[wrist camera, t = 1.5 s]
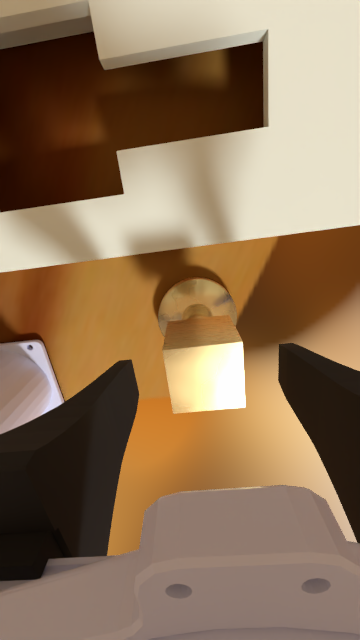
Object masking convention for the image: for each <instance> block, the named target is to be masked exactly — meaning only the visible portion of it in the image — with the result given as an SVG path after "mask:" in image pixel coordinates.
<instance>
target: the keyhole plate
mask: <svg viewBox="0 0 360 640" xmlns="http://www.w3.org/2000/svg"><path fill="white" fill-rule="evenodd" d="M93 31H94V35H95V40H96V45H97V51H98V56H99V60H100V62H101V64H102V66H103V68H104V70H108V69H114V68H119V67H125V66H130V65H136V64H141V63H147V62H152V61H158V60H164V59H169V58H175V57H180V56H186V55H191V54H197V53H202V52H208V51H213V50H219V49H224V48H230V47H235V46H241V45H246V44H252V43H257V42H263V111H264V127H263V128H257V129H251V130H244V131H238V132H232V133H226V134H219V135H213V136H207V137H201V138H194V139H188V140H182V141H176V142H169V143H163V144H157V145H150V146H144V147H138V148H132V149H125V150H119V151H116V152H117V158H118V163H119V168H120V174H121V179H122V185H123V190H124V194H122V195H115V196H108V197H102V198H95V199H88V200H81V201H75V202H68V203H61V204H54V205H48V206H41V207H34V208H27V209H21V210H14V211H7V212H1V211H0V272H7V271H15V270H22V269H30V268H37V267H45V266H53V265H60V264H68V263H75V262H83V261H90V260H98V259H106V258H113V257H121V256H128V255H136V254H143V253H151V252H159V251H166V250H174V249H181V248H189V247H196V246H204V245H211V244H219V243H227V242H234V241H242V240H249V239H257V238H264V237H272V236H280V235H287V234H295V233H301V232H310V231H317V230H325V229H333V228H339V227H347V226H355V225H360V0H0V49H5V48H10V47H15V46H20V45H26V44H31V43H36V42H41V41H46V40H52V39H57V38H62V37H67V36H72V35H78V34H83V33H88V32H93Z"/></svg>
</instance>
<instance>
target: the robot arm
mask: <svg viewBox="0 0 360 640" xmlns="http://www.w3.org/2000/svg"><path fill="white" fill-rule="evenodd" d="M30 345H31V346H32V347H33V348H31V347H30ZM278 378H279V379H278V380H279V383H280V385H281V388H282V390H283V393H284V395H285V397H286V399H287V401H288V403H289V404H290V406H291V408H292V409H293V411H294V412H295V414H296V416H297V417H298V419H299V421H300V422H301V424H302V426H303V427H304V429H305V431H306V432H307V434H308V435H309V437H310V439H311V440H312V442H313V444H314V446H315V448H316V450H317V452H318V454H319V456H320V458H321V460H322V462H323V464H324V466H325V468H326V471H327V473H328V475H329V477H330V479H331V482H332V484H333V486H334V488H335V490H336V492H337V494H338V497H339V499H340V502H341V504H342V506H343V509H344V511H345V514H346V516H347V518H348V520H349V523H350V525H351V528H352V530H353V532H354V535H355V537H356V540H357V543H355V542H349V541H346V539H345V537H344V535H343V533H342V531H341V529H340V527H339V525H338V523H337V521H336V519H335V517H334V515H333V513H332V511H331V509H330V508H329V505H328V504H327V501H326V500H325V499H324V498H322V497H320V496H319V495H317V494H316V493H314V492H313V491H311V490H310V489H307V488H304V487H296V486H286V485H275V486H260V487H245V488H230V489H216V490H215V489H214V490H199V491H184V492H178V493H174V494H171V495H166V496H163V497H161V498H159V499H158V500H157V501H155V502H154V503H153V504H152V505H151V506H150V507H149V508H148V509H147V510H145V513H144V520H143V527H142V534H141V541H140V548H139V549H138V550H135V551H131V552H128V553H125V554H121V555H116V556H107V551H108V542H109V536H110V529H111V521H112V514H113V509H114V503H115V497H116V491H117V485H118V479H119V474H120V469H121V464H122V460H123V456H124V452H125V449H126V446H127V442H128V439H129V435H130V432H131V429H132V426H133V422H134V419H135V415H136V411H137V405H138V398H139V391H138V386H137V382H136V378H135V373H134V369H133V364H132V360H122V361H118V362H117V363H116V364H114V365H113V366H112V367H110V368H109V369H108V370H107V371H106V372H104V373H103V374H102V375H101V376H100V377H98V378H97V379H96V380H95V381H93V382H92V383H91V384H89V385H88V386H87V387H85V388H84V389H83V390H81V391H80V392H79V393H77V394H76V395H74V396H73V397H72V398H70V399H69V400H67V401H65V402H64V400H63V397H62V394H61V391H60V388H59V386H58V383H57V380H56V377H55V375H54V372H53V369H52V366H51V363H50V361H49V358H48V355H47V352H46V349H45V347H44V344H43V342H41V341H40V340H29V341H20V342H11V343H2V344H0V640H360V371H357V370H354V369H352V368H349V367H347V366H344V365H342V364H339V363H337V362H334V361H332V360H330V359H327V358H325V357H323V356H321V355H319V354H316V353H314V352H312V351H310V350H308V349H306V348H303V347H301V346H299V345H296V344H294V343H288V344H279V377H278Z"/></svg>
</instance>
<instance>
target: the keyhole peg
mask: <svg viewBox="0 0 360 640" xmlns="http://www.w3.org/2000/svg"><path fill="white" fill-rule="evenodd" d="M236 321H237V312H236V307H235V304H234V301H233V299H232V298H231V296H230V294H229V293H228V292H227V290H226V289H225V288H224V287H223V286H222V285H220V284H219V283H217V282H215V281H213V280H211V279H208V278H203V277H192V278H187V279H184V280H182V281H179V282H178V283H176V284H174V285H173V286H172V287H171V288H170V289H169V290H168V291H167V292H166V294H165V295H164V297H163V299H162V301H161V304H160V308H159V313H158V322H159V327H160V330H161V332H162V334H163V336H164V337H165V339H164V345H163V356H164V362H165V368H166V374H167V379H168V385H169V391H170V397H171V403H172V409H173V413H184V412H196V411H207V410H218V409H229V408H240V407H245V387H244V363H243V342H242V340H241V338H240V336H239V334H238V332H237V330H236V328H235V325H236Z"/></svg>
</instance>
